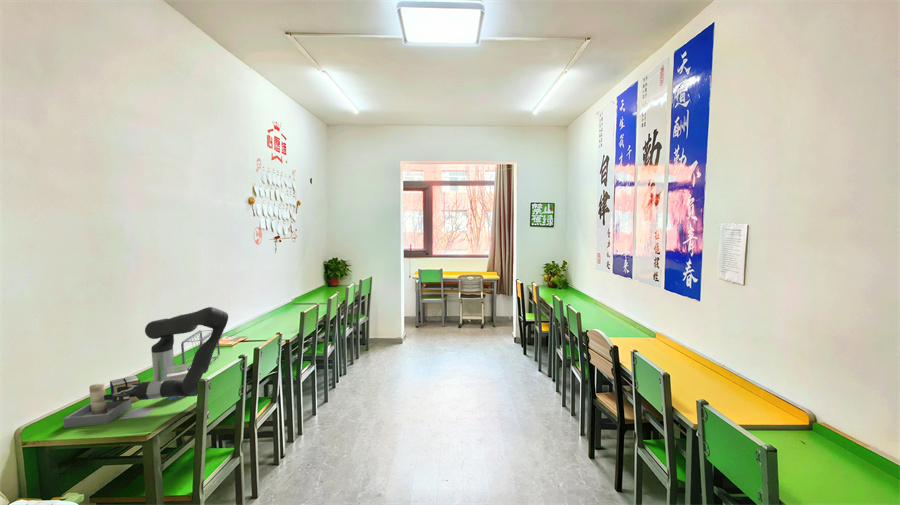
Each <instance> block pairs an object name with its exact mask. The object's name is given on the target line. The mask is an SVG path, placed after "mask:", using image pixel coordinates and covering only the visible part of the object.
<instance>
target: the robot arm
mask: <svg viewBox="0 0 900 505" xmlns="http://www.w3.org/2000/svg"><path fill="white" fill-rule="evenodd" d="M228 321H229V314H228V313H227V312H226V311H224V310H221V309H219V308H216V307H214V306H208V307H205V308H203V309H199V310H197V311H192V312H190V313H184V314H179V315H176V316H173V317H171V318H162V319H157V320H151V321H150V322H148V323H147V324H146V325H145V329H144V334H145V336H147V337H148V338H149V339H151V340H156V339H157V340H158V339H159V340H158V341H157V342H156V343H155V344H153V345H152V346H151V349H150V350H151V361H152V362H151V363H152V374H153V376H152V377H153V380H151V381H150V380H149V381H141V382H140V383H136V384H131V385H128V386H123V387H118V388H117V392H120V393H116V394H111V393H110V394H109V393H108V394H107V393H106V395H104V400H106V401H111V400H113V402H118V401H128V400H130V399H129V398H133V397H135V396H136V397H137V398H138V399H139V401H145V400H158V399H162V398H163V399H164V398H168V397H173V396H186V397H197V394H198V382H199V380H202V377H203V374H206V373H207V372H208V371H209V367H210V366H211V365H210V362H211V361H212V358H213V357H212V356H213V355H214V352H215V349H216V348H217V343H218V341H219V342H220V339H221V337H222V335H223V333H224V330H225V328H226V326H227V325H228V324H227V323H228ZM198 326H202V327H203V326H204V327H207V328H209V329H211V330H213V331H212V334H211V335H210V336H209V337H208V338H207V339H206V340H207V341H206V340H205V343H203V345H202V346H201V347H200V348H199V347H198V348H197V349H196V351H195V352H194V356H193V358H192V362H191V364H190V366H191V368H190V369H189V370H188V373H187V374H186V376H185V378H184V380H183V381H178V380H167V367H172V366H175V356H174V355H175V354H174V345H175V344H174V343H175V335H181V334H182V335H183V334H187V333H191V332H193V331H195V330H196V329H197V328H198ZM209 365H210V366H209ZM174 370H176V368H174ZM135 385H136V386H135ZM123 393H125V394H123ZM120 394H121V395H120ZM117 397H119V398H117Z"/></svg>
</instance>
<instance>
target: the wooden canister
mask: <svg viewBox="0 0 900 505" xmlns="http://www.w3.org/2000/svg"><path fill="white" fill-rule="evenodd" d="M88 389H89V399H90V403H91V413H92V415H97V414H106V413H107V405H106V401H107V400H104V395H106V394H107V392H106V384H105V383H103V382H99V383H95V384H91V385H89V388H88Z"/></svg>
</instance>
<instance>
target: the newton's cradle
mask: <svg viewBox="0 0 900 505" xmlns="http://www.w3.org/2000/svg"><path fill="white" fill-rule="evenodd" d="M212 331H213V329H209V330H201V329H200V330H198V331H196V332H195V333H193V334H191V335H190V336H189V337H187V338H185V339H183V341H182V342H181V343H180V345H181V347H180V348H181V360H182V364H181V365H184V364H186V362H185V360H186V359H185V345H184V344H185V343H190V342H191V344H192V345H194V344H195V345H197V344H196V342H199V343H198V345H197V346H198V347H197V346H195V347H196V349H199V348H200V347H201V346H202V345H203V344H204V343H205V342H206V341H207V340H208V339H209V338H210V336H211V334H212ZM204 332H205V334H203V333H204ZM193 342H194V344H193ZM195 347H194V346H192V348H193V351H194V353H196V351H195ZM216 349H217V355H215V356H216V357H213V359H211V361H210V364H211V363H212V362H213V361H214V360H215V359H216V358H217V357H218V356H219V357H220V352H221V351H220V340H219V341H218V343H217V345H216ZM219 357H218V358H219ZM218 358H217V359H218ZM217 359H216V360H217ZM216 360H215V361H216ZM215 361H214V362H215ZM214 362H213V363H214ZM213 363H212V364H213ZM212 364H211V365H212ZM190 367H191V365H190V366H187V370H188V369H189V368H190ZM188 371H189V370H188Z"/></svg>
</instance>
